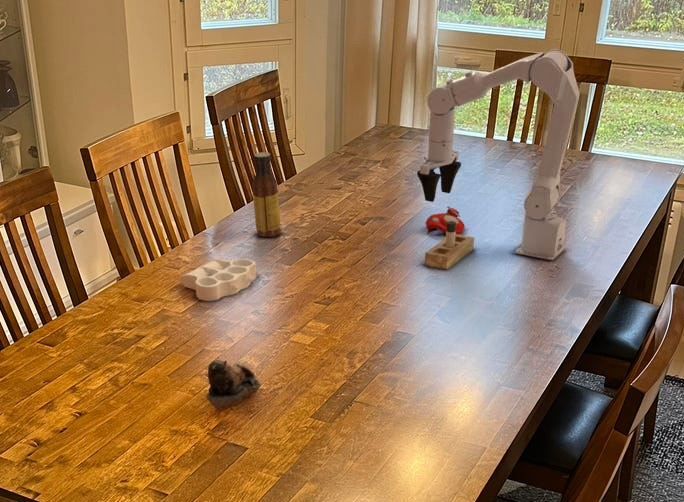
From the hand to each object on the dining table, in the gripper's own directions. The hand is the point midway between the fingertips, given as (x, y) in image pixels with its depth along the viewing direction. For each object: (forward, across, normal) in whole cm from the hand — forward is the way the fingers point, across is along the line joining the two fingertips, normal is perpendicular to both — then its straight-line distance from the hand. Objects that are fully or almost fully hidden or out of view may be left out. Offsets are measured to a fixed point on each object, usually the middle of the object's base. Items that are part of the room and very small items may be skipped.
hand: (437, 196), depth 243 cm
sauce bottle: (+10, +22, -36) cm, 43 cm away
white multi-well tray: (+10, +53, -24) cm, 59 cm away
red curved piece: (+10, -7, 0) cm, 12 cm away
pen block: (+10, +10, +10) cm, 17 cm away
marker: (+10, +10, +10) cm, 17 cm away
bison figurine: (+10, +92, +13) cm, 94 cm away
